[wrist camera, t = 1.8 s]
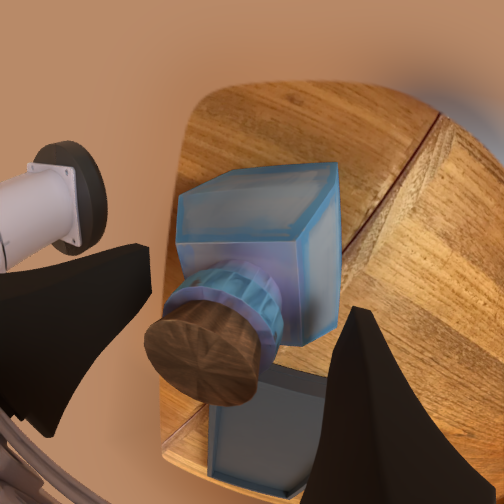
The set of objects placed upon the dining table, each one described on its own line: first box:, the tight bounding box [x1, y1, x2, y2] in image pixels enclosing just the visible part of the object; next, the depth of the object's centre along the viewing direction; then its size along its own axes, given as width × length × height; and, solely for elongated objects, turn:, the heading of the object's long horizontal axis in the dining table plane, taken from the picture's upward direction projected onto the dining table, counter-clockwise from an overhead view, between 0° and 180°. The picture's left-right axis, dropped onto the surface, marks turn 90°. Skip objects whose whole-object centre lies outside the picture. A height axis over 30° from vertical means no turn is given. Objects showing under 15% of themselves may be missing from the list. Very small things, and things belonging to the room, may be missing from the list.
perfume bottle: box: [144, 162, 342, 407], centre depth 12 cm, size 6×6×12 cm
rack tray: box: [207, 363, 327, 500], centre depth 29 cm, size 16×36×2 cm, turn 172°
